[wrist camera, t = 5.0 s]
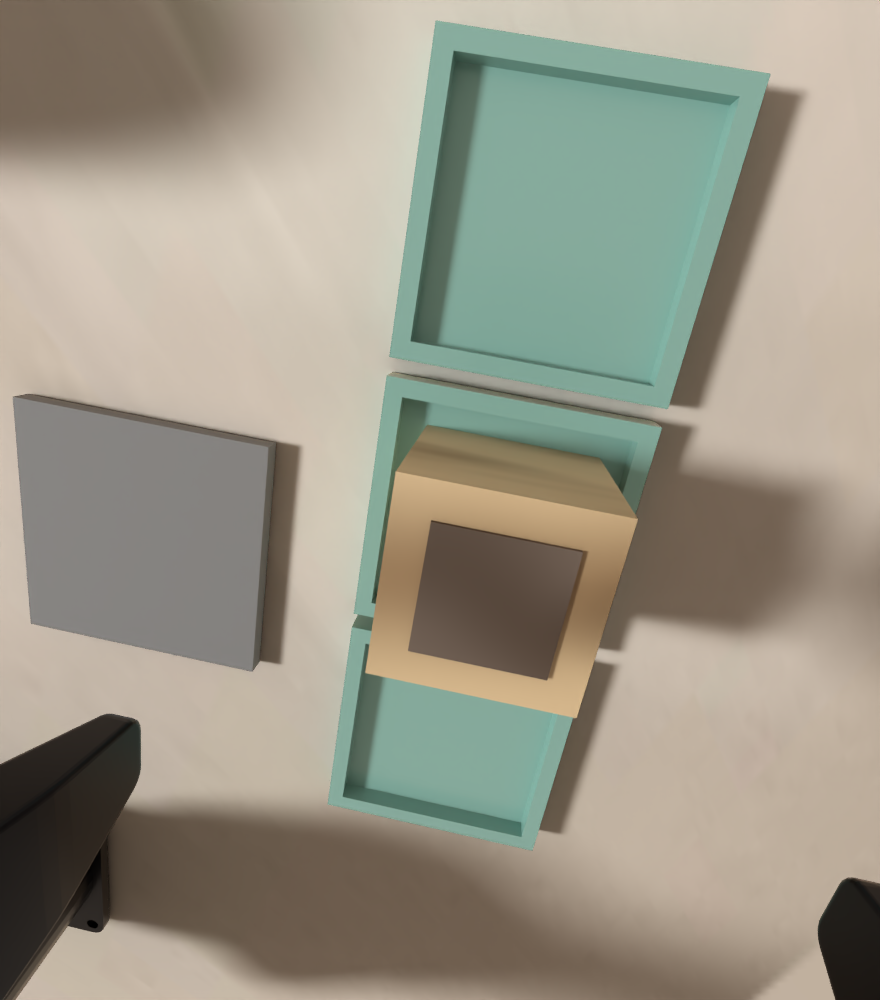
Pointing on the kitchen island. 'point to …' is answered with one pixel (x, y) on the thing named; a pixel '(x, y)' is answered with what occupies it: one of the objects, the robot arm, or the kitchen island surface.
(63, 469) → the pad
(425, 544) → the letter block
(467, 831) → the dish far
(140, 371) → the kitchen island surface
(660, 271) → the dish near
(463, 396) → the dish middle
